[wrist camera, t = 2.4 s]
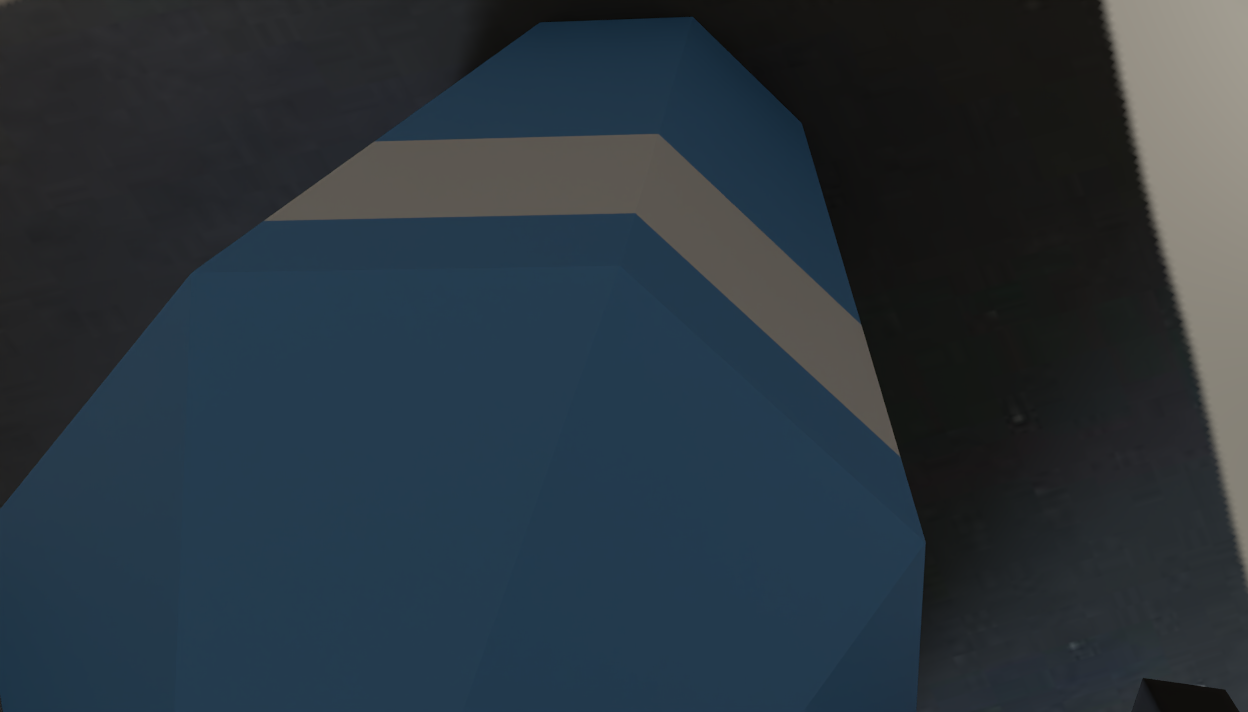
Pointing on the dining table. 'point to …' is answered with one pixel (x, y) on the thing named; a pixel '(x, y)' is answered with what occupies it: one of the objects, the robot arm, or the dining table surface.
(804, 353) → the water bottle
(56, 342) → the dining table surface
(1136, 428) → the dining table surface
